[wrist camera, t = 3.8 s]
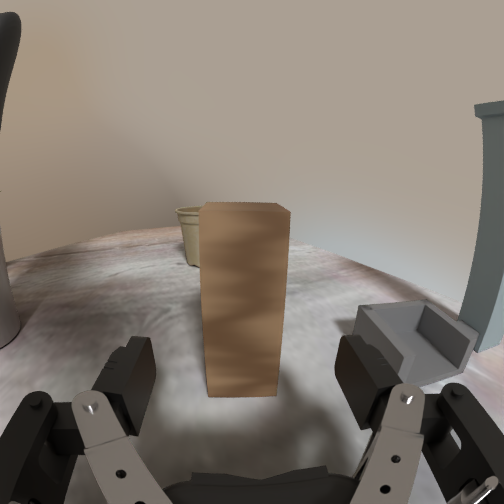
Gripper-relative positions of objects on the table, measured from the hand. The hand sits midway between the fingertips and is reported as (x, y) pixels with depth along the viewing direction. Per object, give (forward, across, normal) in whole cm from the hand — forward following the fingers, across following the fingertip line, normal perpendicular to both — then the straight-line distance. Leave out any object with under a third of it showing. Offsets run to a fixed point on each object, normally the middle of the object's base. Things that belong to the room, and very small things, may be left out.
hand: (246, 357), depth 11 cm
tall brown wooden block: (+6, 0, +7) cm, 9 cm away
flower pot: (+34, +5, +7) cm, 35 cm away
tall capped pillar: (+7, -19, +7) cm, 21 cm away
